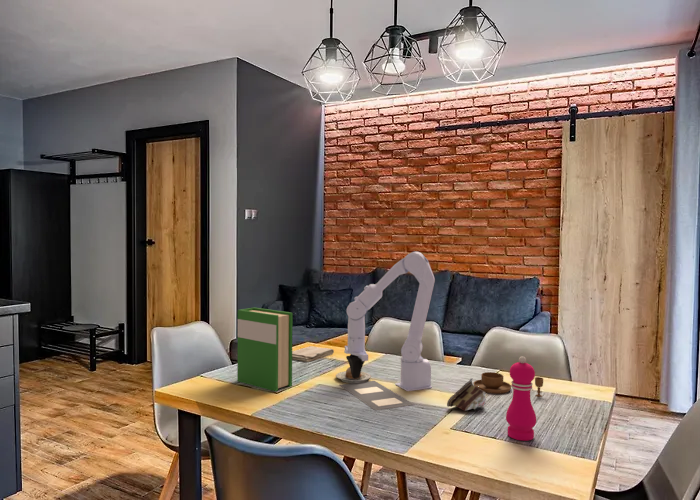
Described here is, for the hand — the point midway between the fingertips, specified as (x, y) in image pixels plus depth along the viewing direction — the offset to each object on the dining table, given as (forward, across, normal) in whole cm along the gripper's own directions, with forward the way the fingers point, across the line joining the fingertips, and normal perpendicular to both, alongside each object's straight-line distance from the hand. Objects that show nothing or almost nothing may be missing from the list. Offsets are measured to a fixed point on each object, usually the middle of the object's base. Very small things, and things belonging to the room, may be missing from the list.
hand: (355, 377), depth 174 cm
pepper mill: (+2, +57, +19) cm, 60 cm away
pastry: (+2, -4, +1) cm, 4 cm away
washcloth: (+2, -40, -2) cm, 40 cm away
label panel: (+2, +14, 0) cm, 14 cm away
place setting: (+3, +26, +40) cm, 48 cm away
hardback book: (+2, -9, -29) cm, 30 cm away
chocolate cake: (+4, +36, +16) cm, 39 cm away
